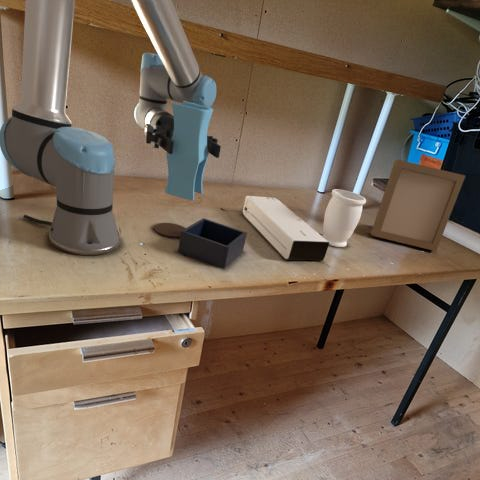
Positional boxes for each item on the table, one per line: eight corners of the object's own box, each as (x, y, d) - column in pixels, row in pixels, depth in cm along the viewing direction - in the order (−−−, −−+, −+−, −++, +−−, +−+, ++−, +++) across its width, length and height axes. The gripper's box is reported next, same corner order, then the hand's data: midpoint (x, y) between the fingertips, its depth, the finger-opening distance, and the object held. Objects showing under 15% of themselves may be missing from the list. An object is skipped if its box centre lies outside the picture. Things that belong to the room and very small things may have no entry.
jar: (311, 234, 131) (325, 187, 123) (338, 235, 135) (353, 190, 127) (327, 248, 123) (344, 199, 115) (355, 249, 127) (373, 202, 119)
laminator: (322, 262, 114) (329, 242, 110) (284, 262, 109) (290, 240, 105) (272, 215, 139) (276, 197, 135) (238, 213, 134) (242, 194, 130)
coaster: (147, 230, 108) (147, 229, 108) (164, 221, 116) (164, 220, 116) (177, 241, 107) (178, 239, 106) (193, 231, 114) (193, 230, 114)
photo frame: (434, 253, 139) (471, 179, 126) (372, 238, 140) (401, 162, 126) (424, 238, 152) (456, 169, 138) (367, 224, 152) (393, 154, 139)
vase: (174, 185, 108) (183, 100, 97) (202, 193, 107) (215, 108, 96) (162, 192, 101) (171, 102, 90) (193, 201, 100) (205, 111, 89)
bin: (178, 252, 101) (180, 231, 98) (200, 237, 112) (203, 217, 109) (224, 268, 99) (228, 247, 96) (242, 252, 109) (247, 232, 106)
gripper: (201, 145, 118) (236, 169, 103) (118, 137, 106) (144, 163, 91) (205, 117, 114) (242, 137, 99) (119, 105, 102) (147, 126, 87)
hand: (195, 149), depth 95 cm, fingers closed on vase, 11 cm apart
